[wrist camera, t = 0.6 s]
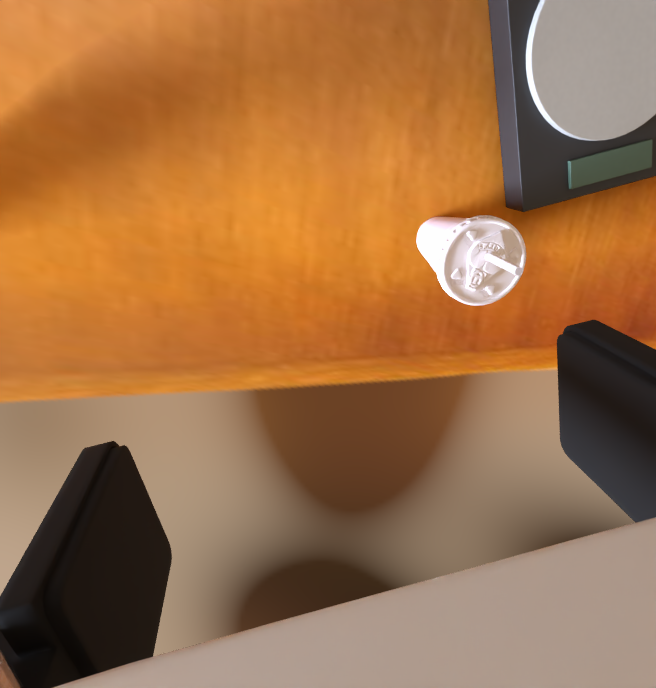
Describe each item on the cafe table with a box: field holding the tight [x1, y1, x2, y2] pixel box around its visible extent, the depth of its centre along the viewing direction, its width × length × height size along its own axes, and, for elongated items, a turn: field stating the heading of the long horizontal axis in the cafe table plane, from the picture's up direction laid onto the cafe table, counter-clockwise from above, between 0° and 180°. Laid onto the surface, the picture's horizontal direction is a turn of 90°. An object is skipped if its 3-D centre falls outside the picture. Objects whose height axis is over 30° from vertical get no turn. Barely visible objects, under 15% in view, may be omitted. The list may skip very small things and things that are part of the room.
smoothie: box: [416, 215, 526, 306], centre depth 38 cm, size 6×6×14 cm
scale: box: [488, 0, 656, 212], centre depth 39 cm, size 18×15×4 cm
